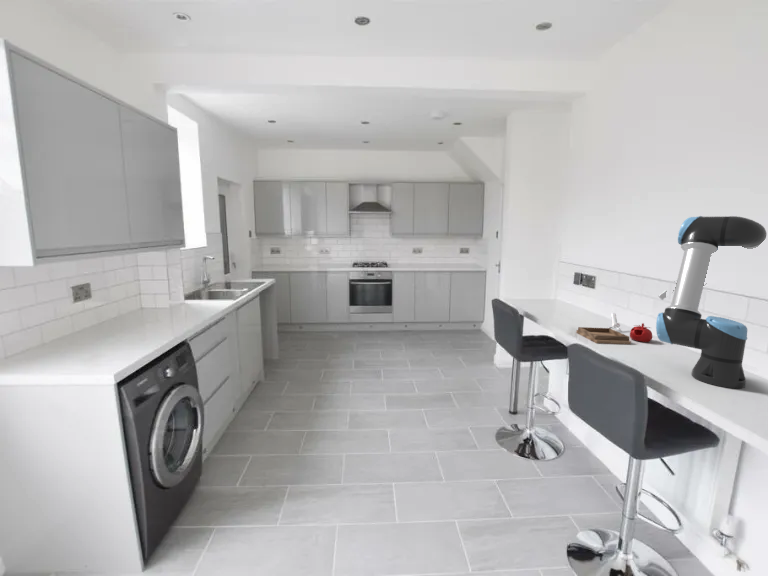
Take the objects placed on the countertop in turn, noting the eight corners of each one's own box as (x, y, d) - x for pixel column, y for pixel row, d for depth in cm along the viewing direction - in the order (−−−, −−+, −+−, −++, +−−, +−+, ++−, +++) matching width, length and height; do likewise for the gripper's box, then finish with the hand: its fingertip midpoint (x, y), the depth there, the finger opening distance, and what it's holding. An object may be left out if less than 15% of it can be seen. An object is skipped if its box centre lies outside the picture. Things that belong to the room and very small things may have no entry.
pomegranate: (643, 338, 200) (645, 321, 199) (656, 343, 190) (659, 325, 189) (624, 337, 200) (626, 320, 199) (636, 342, 190) (639, 324, 189)
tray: (630, 344, 187) (631, 337, 187) (596, 343, 187) (597, 336, 187) (607, 333, 207) (608, 327, 206) (576, 332, 207) (576, 326, 207)
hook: (610, 318, 222) (620, 314, 216) (615, 337, 217) (625, 333, 211) (600, 316, 221) (610, 311, 215) (604, 335, 215) (614, 331, 209)
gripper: (729, 280, 175) (690, 310, 179) (692, 274, 200) (658, 301, 204) (719, 269, 175) (679, 299, 179) (683, 264, 200) (649, 291, 203)
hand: (668, 300), depth 191 cm, fingers open, 13 cm apart
